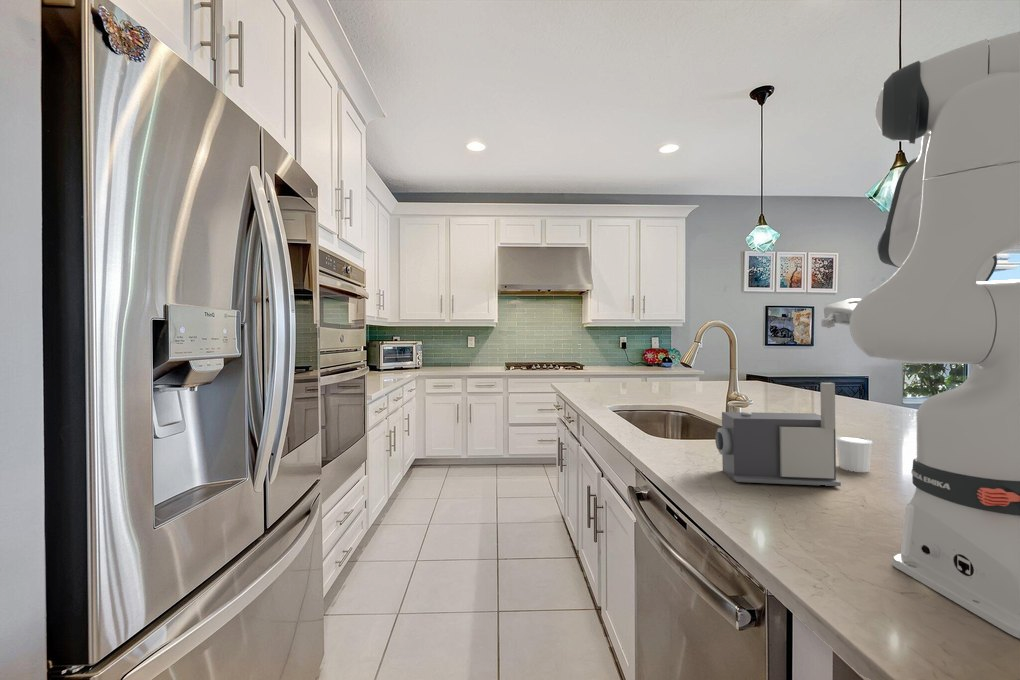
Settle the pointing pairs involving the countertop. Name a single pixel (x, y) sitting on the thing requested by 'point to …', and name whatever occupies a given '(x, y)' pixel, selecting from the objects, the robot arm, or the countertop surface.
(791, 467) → the side door
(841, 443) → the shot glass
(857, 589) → the countertop surface
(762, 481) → the camera housing
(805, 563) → the countertop surface
